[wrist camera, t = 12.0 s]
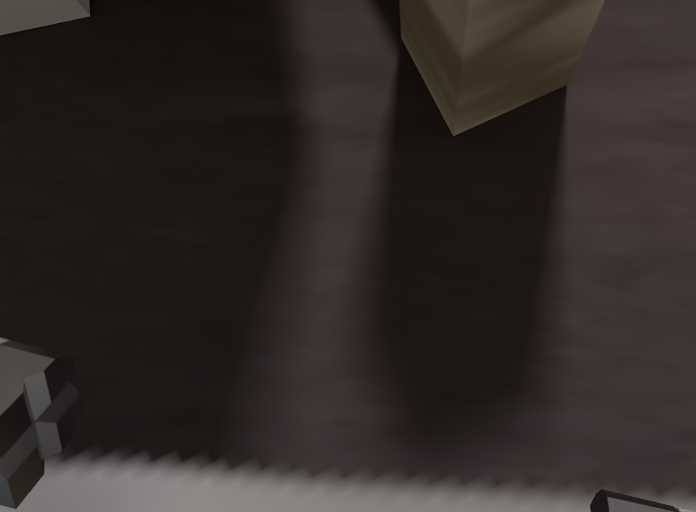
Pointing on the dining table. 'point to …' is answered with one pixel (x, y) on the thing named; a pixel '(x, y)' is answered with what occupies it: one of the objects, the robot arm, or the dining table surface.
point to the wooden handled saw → (494, 51)
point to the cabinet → (39, 13)
